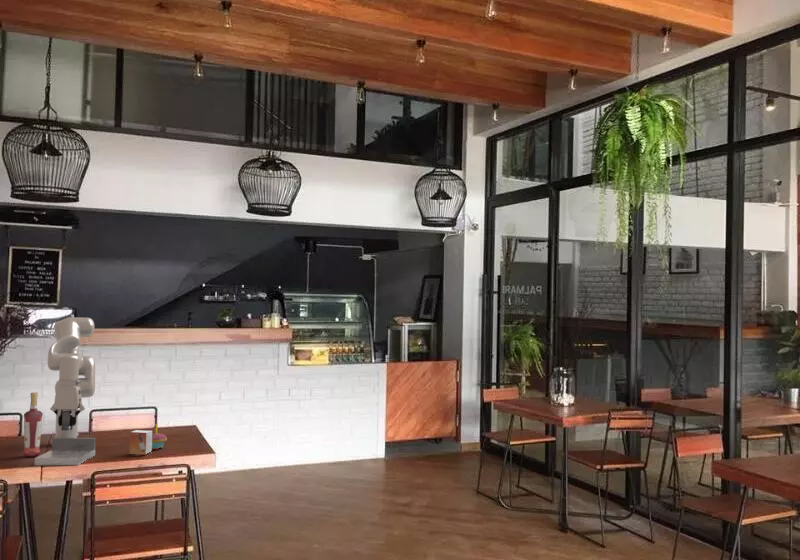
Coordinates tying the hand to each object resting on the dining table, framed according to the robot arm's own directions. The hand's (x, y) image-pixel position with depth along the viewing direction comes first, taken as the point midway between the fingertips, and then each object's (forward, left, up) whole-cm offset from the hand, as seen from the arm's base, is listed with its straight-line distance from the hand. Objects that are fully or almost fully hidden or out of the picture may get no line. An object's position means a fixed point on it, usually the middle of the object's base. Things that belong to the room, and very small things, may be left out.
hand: (67, 425), depth 291 cm
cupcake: (-24, +32, -15) cm, 43 cm away
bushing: (0, 0, -2) cm, 2 cm away
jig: (0, 0, -15) cm, 15 cm away
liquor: (-8, -18, -15) cm, 25 cm away
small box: (-12, +28, -16) cm, 34 cm away
